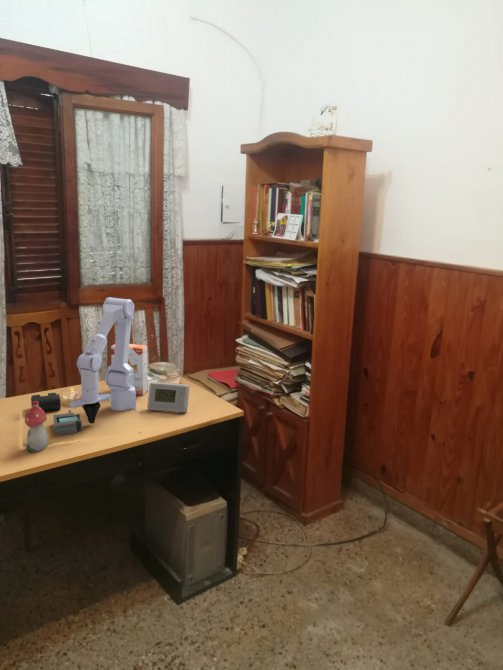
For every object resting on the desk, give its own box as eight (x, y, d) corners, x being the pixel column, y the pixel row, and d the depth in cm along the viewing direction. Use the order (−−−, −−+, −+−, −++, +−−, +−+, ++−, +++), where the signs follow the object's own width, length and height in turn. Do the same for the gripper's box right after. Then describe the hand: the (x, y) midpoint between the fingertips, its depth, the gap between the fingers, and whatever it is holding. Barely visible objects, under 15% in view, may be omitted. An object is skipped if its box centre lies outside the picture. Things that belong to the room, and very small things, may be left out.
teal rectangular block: (79, 427, 187) (79, 415, 186) (81, 431, 184) (80, 419, 183) (59, 430, 184) (58, 418, 182) (60, 434, 181) (60, 422, 179)
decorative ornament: (33, 440, 175) (30, 398, 172) (52, 441, 175) (50, 399, 172) (21, 453, 166) (18, 409, 163) (41, 454, 166) (39, 410, 163)
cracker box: (111, 393, 221) (110, 345, 216) (117, 388, 227) (116, 341, 222) (143, 396, 219) (142, 348, 214) (148, 391, 225) (147, 344, 220)
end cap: (33, 417, 194) (31, 400, 192) (30, 410, 200) (29, 394, 198) (61, 413, 198) (60, 396, 197) (58, 406, 204) (57, 390, 203)
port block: (79, 423, 190) (79, 410, 189) (82, 434, 181) (81, 421, 180) (53, 426, 186) (53, 413, 185) (55, 438, 177) (54, 424, 176)
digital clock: (145, 410, 204) (144, 384, 202) (156, 402, 213) (156, 378, 210) (182, 417, 199) (182, 391, 197) (192, 409, 208) (192, 383, 205)
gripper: (104, 379, 191) (105, 414, 194) (65, 387, 181) (67, 423, 185) (113, 385, 186) (114, 420, 189) (73, 393, 176) (75, 430, 180)
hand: (91, 422), depth 186 cm, fingers closed
